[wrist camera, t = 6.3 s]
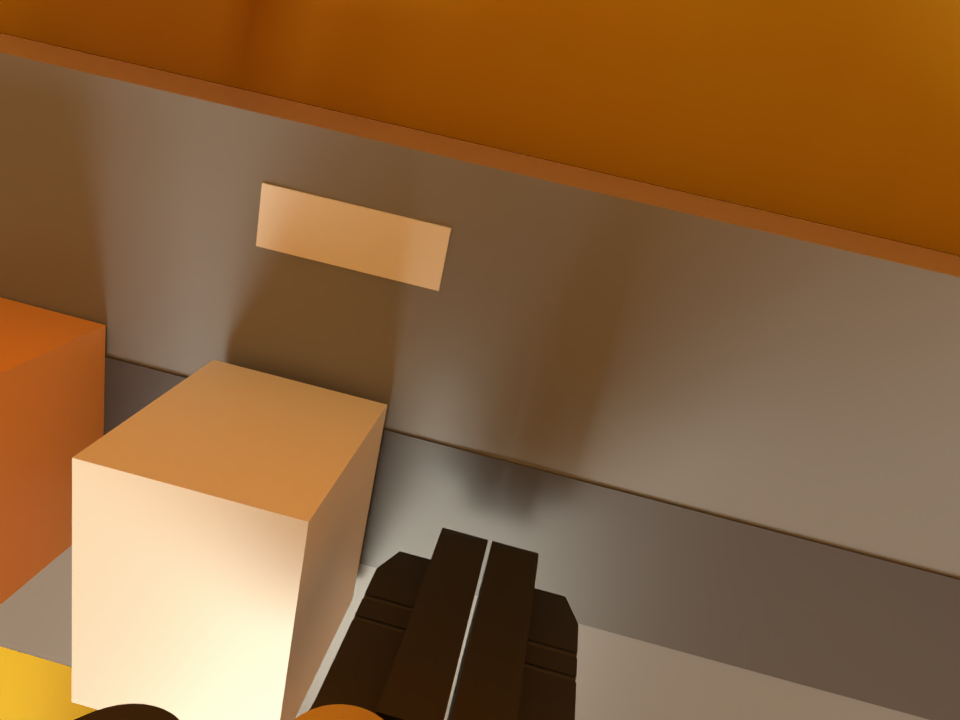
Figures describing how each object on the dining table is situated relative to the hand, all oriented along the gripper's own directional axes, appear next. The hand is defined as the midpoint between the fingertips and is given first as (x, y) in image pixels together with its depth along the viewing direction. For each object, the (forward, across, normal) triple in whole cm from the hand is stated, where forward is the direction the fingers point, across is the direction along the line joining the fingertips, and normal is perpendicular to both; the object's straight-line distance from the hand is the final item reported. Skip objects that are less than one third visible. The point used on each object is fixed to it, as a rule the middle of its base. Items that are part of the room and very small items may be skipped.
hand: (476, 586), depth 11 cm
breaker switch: (+1, +4, 0) cm, 4 cm away
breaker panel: (+5, -1, 0) cm, 5 cm away
